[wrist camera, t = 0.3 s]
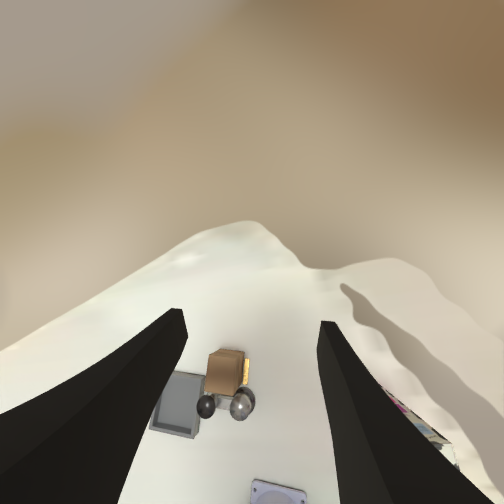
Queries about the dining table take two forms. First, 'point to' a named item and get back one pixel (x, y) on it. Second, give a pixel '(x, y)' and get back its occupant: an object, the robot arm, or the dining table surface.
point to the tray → (179, 405)
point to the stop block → (224, 372)
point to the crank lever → (225, 405)
